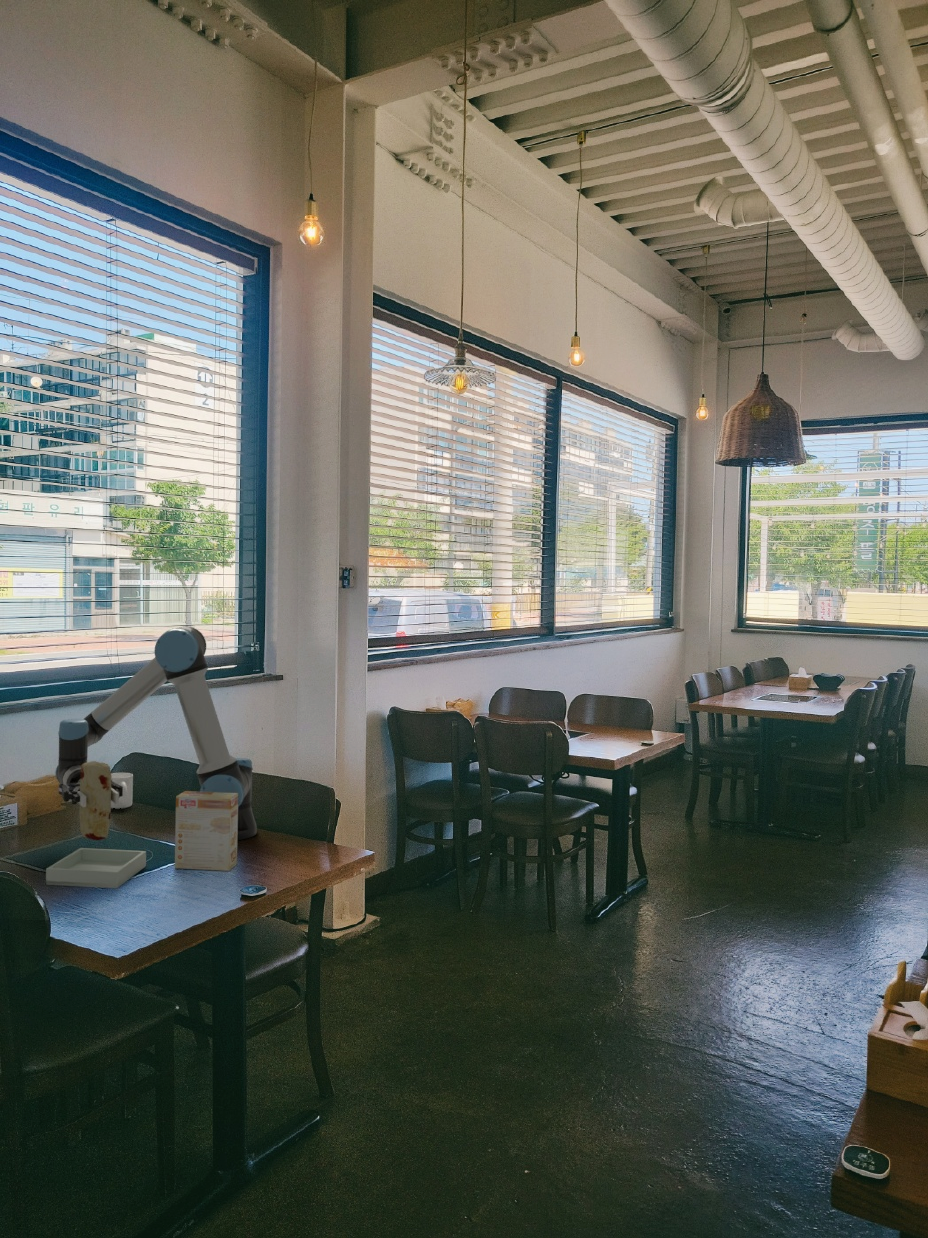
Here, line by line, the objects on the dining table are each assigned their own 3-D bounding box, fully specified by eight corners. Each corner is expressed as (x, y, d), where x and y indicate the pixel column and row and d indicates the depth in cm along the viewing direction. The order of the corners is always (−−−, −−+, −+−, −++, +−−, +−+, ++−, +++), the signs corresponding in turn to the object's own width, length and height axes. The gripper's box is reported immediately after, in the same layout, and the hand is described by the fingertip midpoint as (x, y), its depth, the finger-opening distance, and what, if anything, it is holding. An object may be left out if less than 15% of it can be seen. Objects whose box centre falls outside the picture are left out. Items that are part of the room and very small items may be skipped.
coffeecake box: (237, 863, 253) (239, 792, 253) (229, 872, 246) (230, 798, 245) (183, 861, 254) (184, 790, 253) (173, 869, 247) (175, 796, 246)
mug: (138, 810, 306) (138, 778, 306) (111, 812, 302) (112, 781, 301) (128, 802, 316) (129, 771, 316) (103, 804, 312) (103, 774, 311)
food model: (71, 838, 241) (73, 761, 240) (92, 832, 246) (94, 757, 246) (98, 844, 236) (99, 766, 235) (119, 838, 242) (120, 761, 241)
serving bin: (145, 866, 249) (146, 851, 249) (116, 888, 231) (116, 872, 231) (80, 862, 250) (80, 848, 250) (45, 884, 232) (46, 868, 232)
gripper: (118, 792, 261) (141, 810, 242) (40, 799, 250) (58, 819, 231) (118, 765, 261) (141, 782, 242) (41, 771, 250) (58, 789, 231)
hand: (101, 800), depth 237 cm, fingers closed on food model, 7 cm apart
